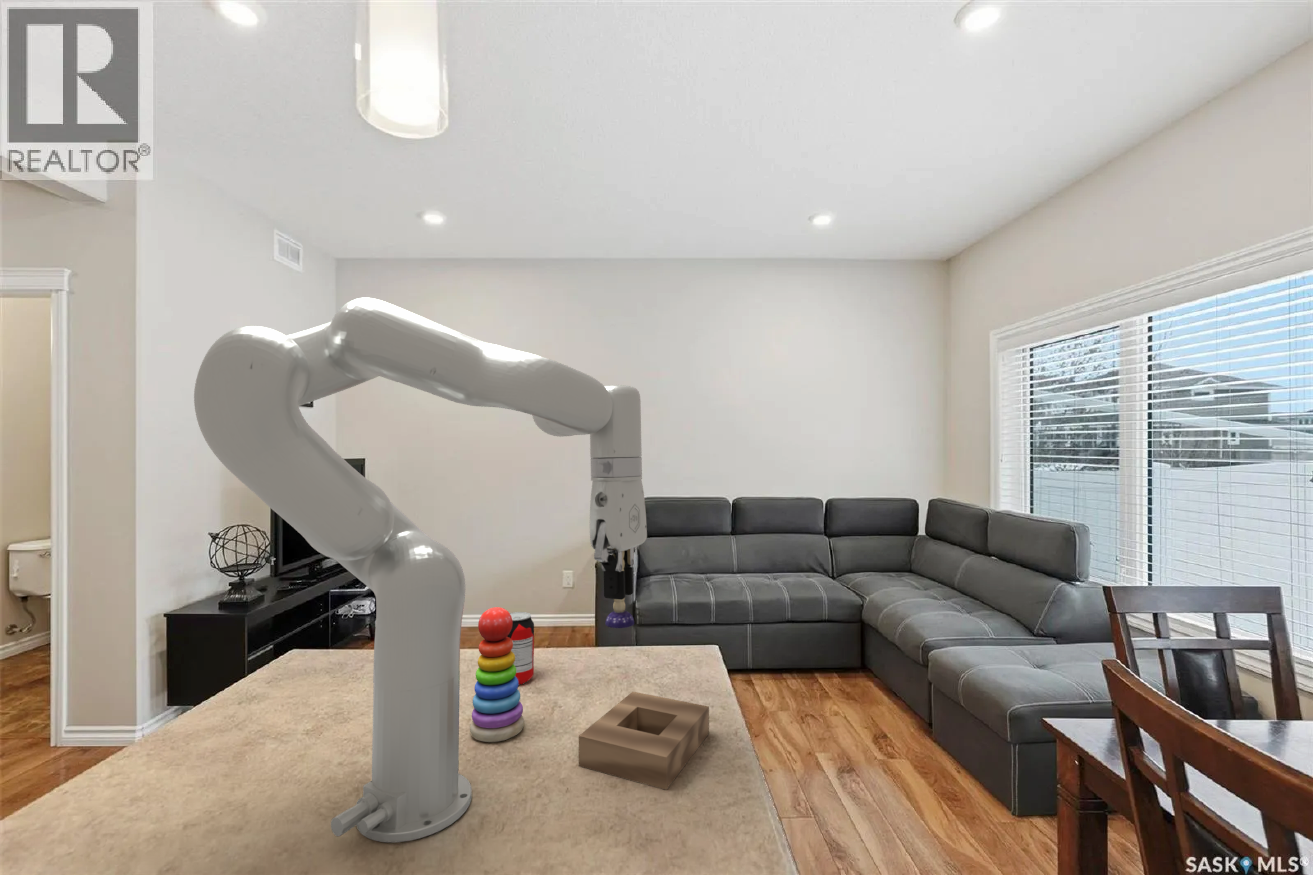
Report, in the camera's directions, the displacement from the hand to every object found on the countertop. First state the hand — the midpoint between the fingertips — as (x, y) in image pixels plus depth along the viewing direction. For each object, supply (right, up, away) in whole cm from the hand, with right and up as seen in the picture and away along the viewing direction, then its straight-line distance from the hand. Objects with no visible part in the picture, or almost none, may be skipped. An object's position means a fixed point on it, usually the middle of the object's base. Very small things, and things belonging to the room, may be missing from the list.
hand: (618, 595), depth 82 cm
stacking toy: (-19, -22, +3) cm, 29 cm away
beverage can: (-21, -23, +23) cm, 38 cm away
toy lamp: (0, -4, 0) cm, 4 cm away
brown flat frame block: (+4, -22, -2) cm, 22 cm away
